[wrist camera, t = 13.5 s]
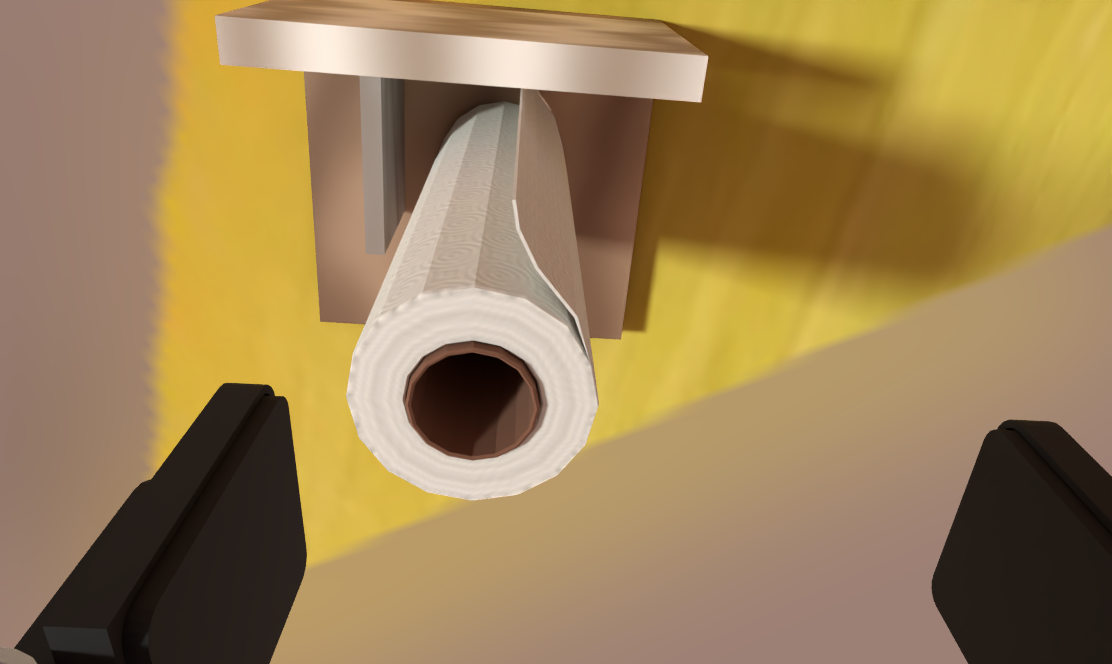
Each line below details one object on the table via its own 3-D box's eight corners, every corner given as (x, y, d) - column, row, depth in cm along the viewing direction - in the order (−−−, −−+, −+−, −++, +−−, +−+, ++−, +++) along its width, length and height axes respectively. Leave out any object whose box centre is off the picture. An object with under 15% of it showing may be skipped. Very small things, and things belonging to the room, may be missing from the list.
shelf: (658, 19, 36) (708, 56, 26) (618, 326, 43) (644, 449, 33) (307, -10, 35) (214, 15, 25) (327, 309, 42) (261, 430, 32)
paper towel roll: (501, 247, 39) (471, 545, 20) (413, 159, 37) (289, 401, 18) (610, 152, 37) (690, 385, 18) (524, 53, 35) (513, 201, 16)
